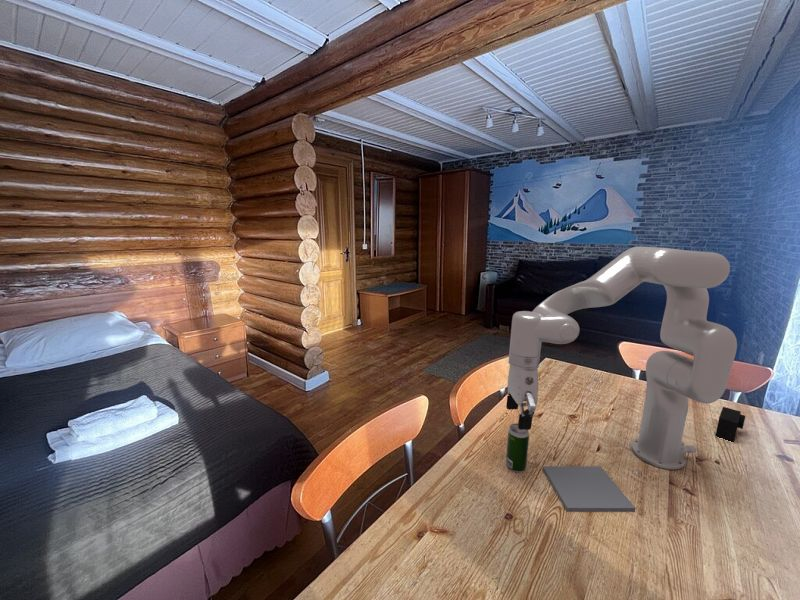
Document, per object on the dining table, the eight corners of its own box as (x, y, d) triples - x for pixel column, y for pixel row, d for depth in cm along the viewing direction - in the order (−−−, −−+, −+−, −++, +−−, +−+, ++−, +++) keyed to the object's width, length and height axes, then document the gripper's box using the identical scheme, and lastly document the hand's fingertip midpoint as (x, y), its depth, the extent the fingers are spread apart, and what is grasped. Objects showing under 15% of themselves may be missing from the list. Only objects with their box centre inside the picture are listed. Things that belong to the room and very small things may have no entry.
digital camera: (738, 445, 102) (743, 425, 100) (714, 437, 106) (719, 417, 104) (741, 432, 108) (746, 412, 107) (718, 424, 112) (723, 406, 111)
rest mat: (600, 469, 92) (600, 466, 91) (635, 511, 78) (635, 508, 78) (542, 469, 92) (542, 466, 91) (566, 511, 78) (567, 507, 78)
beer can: (517, 476, 89) (521, 436, 87) (501, 465, 93) (504, 426, 91) (530, 468, 92) (533, 430, 89) (514, 457, 96) (517, 420, 94)
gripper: (553, 373, 78) (545, 438, 81) (526, 347, 94) (520, 402, 98) (521, 372, 78) (514, 437, 81) (499, 347, 95) (495, 401, 98)
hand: (517, 418), depth 90 cm, fingers open, 9 cm apart
